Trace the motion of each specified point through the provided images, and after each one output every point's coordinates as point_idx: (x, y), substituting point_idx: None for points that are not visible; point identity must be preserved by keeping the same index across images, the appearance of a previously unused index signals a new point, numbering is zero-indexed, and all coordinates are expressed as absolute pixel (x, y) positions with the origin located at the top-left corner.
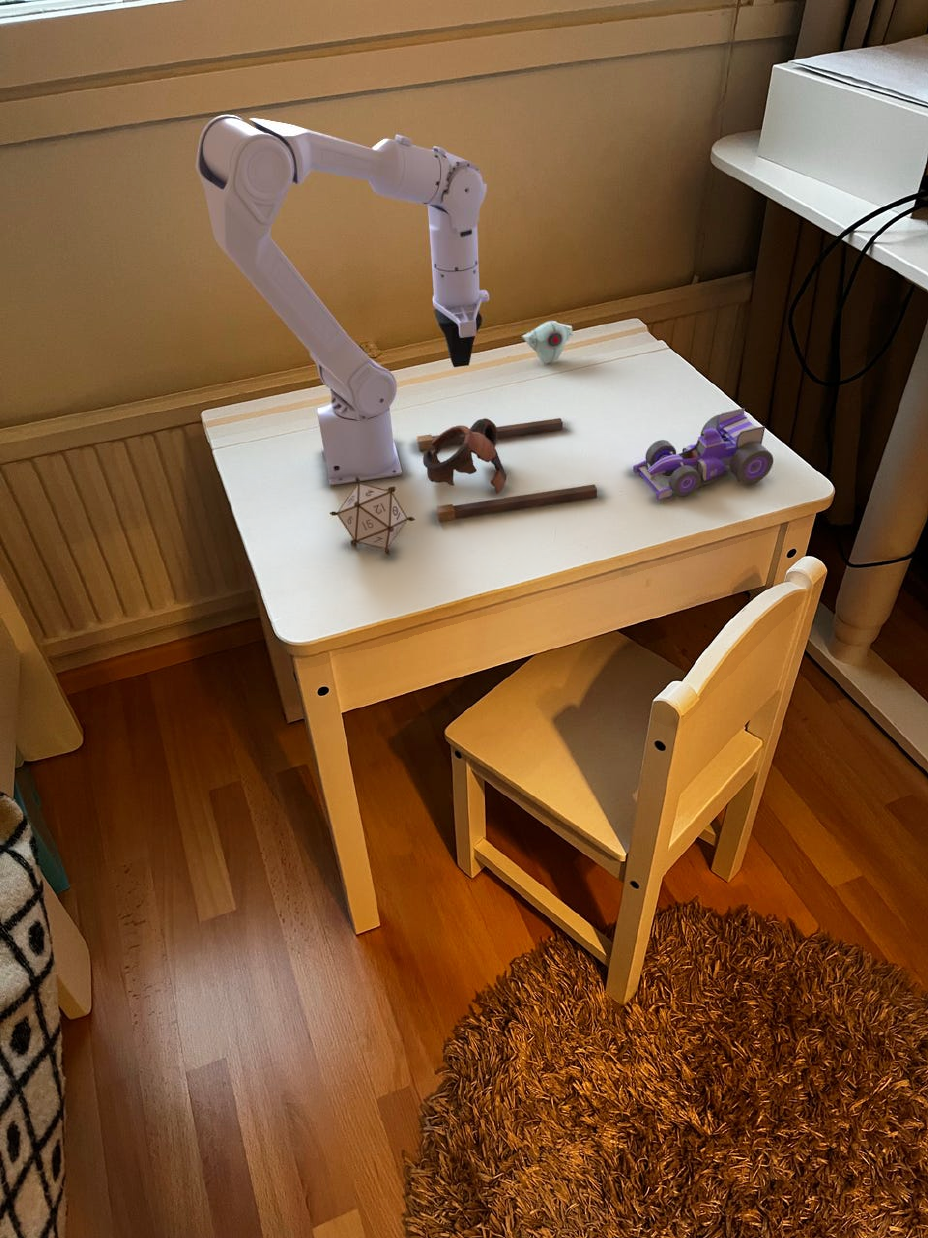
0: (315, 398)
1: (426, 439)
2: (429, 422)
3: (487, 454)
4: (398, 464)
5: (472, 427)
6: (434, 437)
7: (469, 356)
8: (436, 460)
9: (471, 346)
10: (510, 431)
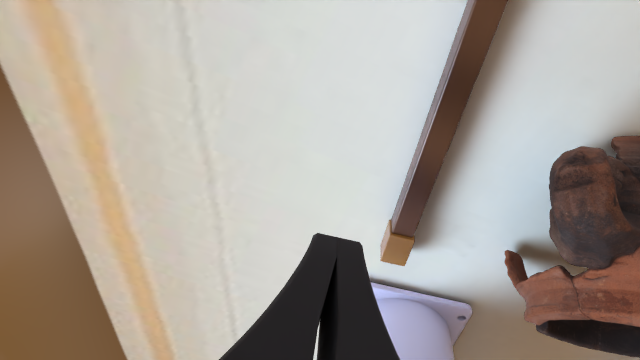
0: (138, 317)
1: (405, 251)
2: (298, 191)
3: None
4: (443, 305)
5: (586, 250)
6: (401, 230)
7: (368, 277)
8: (519, 276)
9: (386, 328)
10: (494, 34)
